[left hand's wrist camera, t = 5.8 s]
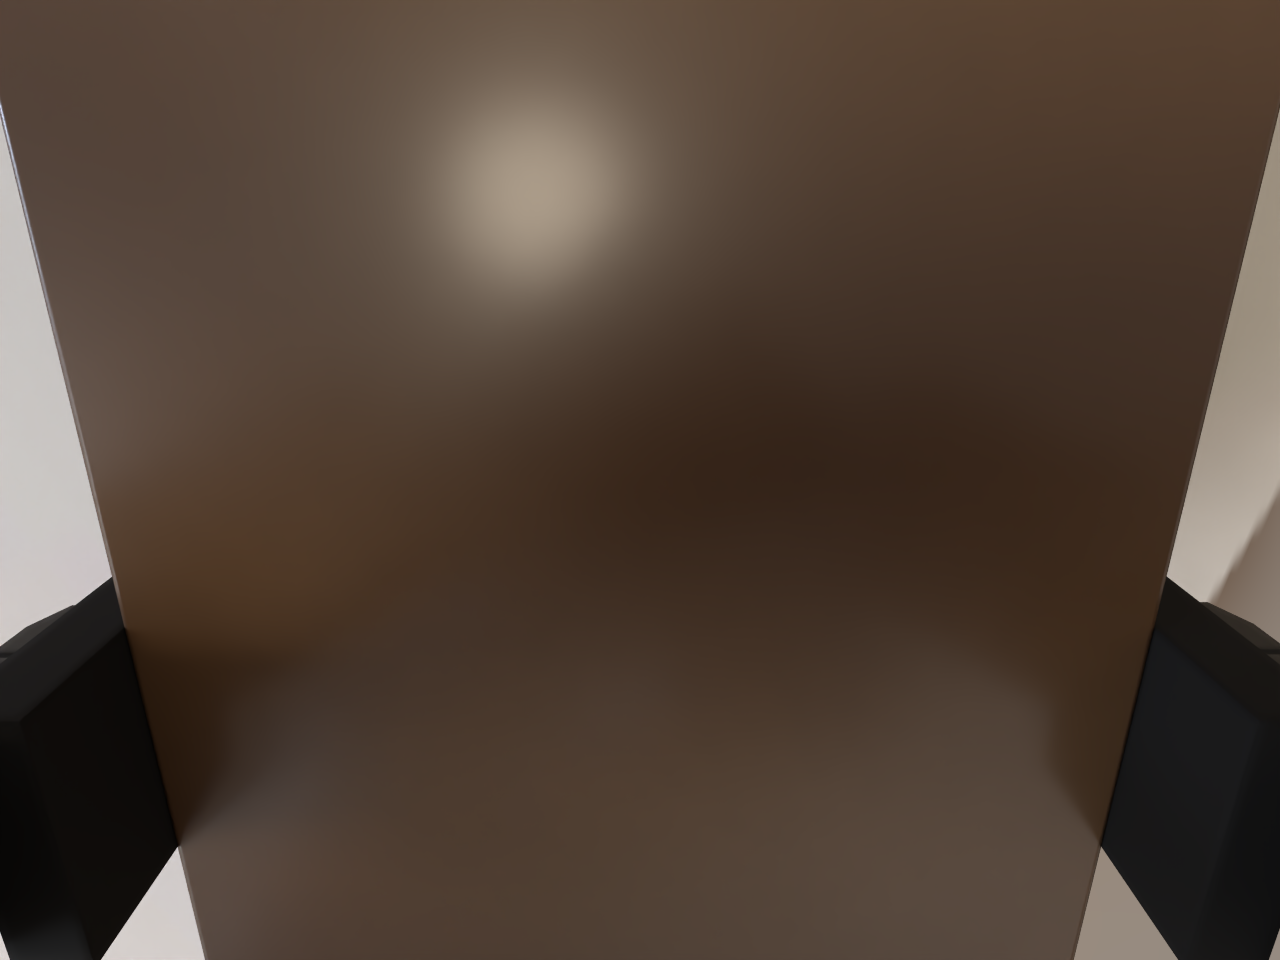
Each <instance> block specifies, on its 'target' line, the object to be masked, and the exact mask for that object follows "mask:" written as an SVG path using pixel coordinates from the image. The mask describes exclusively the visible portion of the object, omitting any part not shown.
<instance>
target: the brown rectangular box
mask: <svg viewBox="0 0 1280 960" xmlns="http://www.w3.org/2000/svg"><path fill="white" fill-rule="evenodd" d="M1279 109H1280V0H0V117H1V121H2V125H3V129H4V133H5V137H6V141H7V145H8V150H9V154H10V158H11V162H12V166H13V170H14V174H15V178H16V182H17V187H18V191H19V195H20V199H21V203H22V207H23V211H24V215H25V220H26V224H27V228H28V232H29V236H30V240H31V244H32V248H33V252H34V257H35V261H36V265H37V269H38V273H39V277H40V281H41V285H42V290H43V294H44V298H45V302H46V306H47V310H48V314H49V318H50V322H51V327H52V331H53V335H54V339H55V343H56V347H57V351H58V355H59V360H60V364H61V368H62V372H63V376H64V380H65V384H66V388H67V392H68V397H69V401H70V405H71V409H72V413H73V417H74V421H75V425H76V430H77V434H78V438H79V442H80V446H81V450H82V454H83V458H84V462H85V467H86V471H87V475H88V479H89V483H90V487H91V491H92V495H93V500H94V504H95V508H96V512H97V516H98V520H99V524H100V528H101V532H102V537H103V541H104V545H105V549H106V553H107V557H108V561H109V565H110V570H111V574H112V578H113V582H114V586H115V590H116V594H117V598H118V602H119V607H120V611H121V615H122V619H123V623H124V627H125V631H126V635H127V640H128V644H129V648H130V652H131V656H132V660H133V664H134V668H135V673H136V677H137V681H138V685H139V689H140V693H141V697H142V701H143V705H144V710H145V714H146V718H147V722H148V726H149V730H150V734H151V738H152V743H153V747H154V751H155V755H156V759H157V763H158V767H159V771H160V775H161V780H162V784H163V788H164V792H165V796H166V800H167V804H168V808H169V813H170V817H171V821H172V825H173V829H174V833H175V837H176V841H177V845H178V850H179V854H180V858H181V862H182V866H183V870H184V874H185V878H186V883H187V887H188V891H189V895H190V899H191V903H192V907H193V911H194V915H195V920H196V924H197V928H198V932H199V936H200V940H201V944H202V948H203V953H204V957H205V960H1074V956H1075V952H1076V948H1077V944H1078V940H1079V935H1080V931H1081V927H1082V923H1083V919H1084V915H1085V911H1086V906H1087V902H1088V898H1089V894H1090V890H1091V886H1092V882H1093V877H1094V873H1095V869H1096V865H1097V861H1098V857H1099V853H1100V848H1101V844H1102V840H1103V836H1104V832H1105V828H1106V824H1107V820H1108V816H1109V811H1110V807H1111V803H1112V799H1113V795H1114V791H1115V787H1116V782H1117V778H1118V774H1119V770H1120V766H1121V762H1122V758H1123V754H1124V749H1125V745H1126V741H1127V737H1128V733H1129V729H1130V725H1131V720H1132V716H1133V712H1134V708H1135V704H1136V700H1137V696H1138V692H1139V687H1140V683H1141V679H1142V675H1143V671H1144V667H1145V663H1146V658H1147V654H1148V650H1149V646H1150V642H1151V638H1152V634H1153V630H1154V625H1155V621H1156V617H1157V613H1158V609H1159V605H1160V601H1161V596H1162V592H1163V588H1164V584H1165V580H1166V576H1167V572H1168V568H1169V563H1170V559H1171V555H1172V551H1173V547H1174V543H1175V539H1176V534H1177V530H1178V526H1179V522H1180V518H1181V514H1182V510H1183V506H1184V501H1185V497H1186V493H1187V489H1188V485H1189V481H1190V477H1191V472H1192V468H1193V464H1194V460H1195V456H1196V452H1197V448H1198V444H1199V439H1200V435H1201V431H1202V427H1203V423H1204V419H1205V415H1206V410H1207V406H1208V402H1209V398H1210V394H1211V390H1212V386H1213V382H1214V377H1215V373H1216V369H1217V365H1218V361H1219V357H1220V353H1221V348H1222V344H1223V340H1224V336H1225V332H1226V328H1227V324H1228V320H1229V315H1230V311H1231V307H1232V303H1233V299H1234V295H1235V291H1236V286H1237V282H1238V278H1239V274H1240V270H1241V266H1242V262H1243V258H1244V253H1245V249H1246V245H1247V241H1248V237H1249V233H1250V229H1251V224H1252V220H1253V216H1254V212H1255V208H1256V204H1257V200H1258V196H1259V191H1260V187H1261V183H1262V179H1263V175H1264V171H1265V167H1266V163H1267V158H1268V154H1269V150H1270V146H1271V142H1272V138H1273V134H1274V129H1275V125H1276V121H1277V117H1278V113H1279Z"/></svg>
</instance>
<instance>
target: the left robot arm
mask: <svg viewBox="0 0 1280 960" xmlns="http://www.w3.org/2000/svg"><path fill="white" fill-rule="evenodd" d="M177 847H178V845H177V841H176V837H175V833H174V829H173V825H172V821H171V817H170V813H169V808H168V804H167V800H166V796H165V792H164V788H163V784H162V780H161V775H160V771H159V767H158V763H157V759H156V755H155V751H154V747H153V743H152V738H151V734H150V730H149V726H148V722H147V718H146V714H145V710H144V705H143V701H142V697H141V693H140V689H139V685H138V681H137V677H136V673H135V668H134V664H133V660H132V656H131V652H130V648H129V644H128V640H127V635H126V631H125V627H124V623H123V619H122V615H121V611H120V607H119V602H118V598H117V594H116V590H115V586H114V582H113V578H112V577H111V578H110V579H109V580H107V581H106V582H105V583H103V584H102V585H101V586H100V587H98V588H97V589H96V590H94V591H93V592H92V593H91V594H89V595H88V596H87V597H85V598H84V599H83V600H82V601H80V602H79V603H78V604H76V605H72V606H70V607H68V608H66V609H64V610H61V611H59V612H57V613H55V614H53V615H51V616H49V617H47V618H44V619H42V620H40V621H38V622H36V623H34V624H32V625H30V626H28V627H26V628H24V629H23V630H22V631H20V632H19V633H18V634H16V635H15V636H14V637H12V638H11V639H10V640H8V641H7V642H6V643H4V644H3V645H2V646H0V933H1V935H2V938H3V941H4V944H5V947H6V950H7V952H8V955H9V958H10V960H101V959H102V957H103V956H104V954H105V953H106V951H107V950H108V948H109V947H110V945H111V944H112V943H113V941H114V940H115V938H116V937H117V935H118V934H119V932H120V931H121V929H122V928H123V926H124V925H125V923H126V922H127V920H128V919H129V917H130V916H131V915H132V913H133V912H134V910H135V909H136V907H137V906H138V904H139V903H140V901H141V900H142V898H143V897H144V895H145V894H146V892H147V891H148V890H149V888H150V887H151V885H152V884H153V882H154V881H155V879H156V878H157V876H158V875H159V873H160V872H161V870H162V869H163V867H164V866H165V865H166V863H167V862H168V860H169V859H170V857H171V856H172V854H173V853H174V851H175V850H176V848H177ZM1101 847H1102V848H1103V850H1104V851H1105V853H1106V854H1107V856H1108V857H1109V859H1110V860H1111V861H1112V863H1113V864H1114V866H1115V867H1116V869H1117V870H1118V872H1119V873H1120V875H1121V876H1122V878H1123V879H1124V881H1125V882H1126V884H1127V885H1128V886H1129V888H1130V889H1131V891H1132V892H1133V894H1134V895H1135V897H1136V898H1137V900H1138V901H1139V903H1140V904H1141V906H1142V907H1143V909H1144V910H1145V912H1146V913H1147V914H1148V916H1149V917H1150V919H1151V920H1152V922H1153V923H1154V925H1155V926H1156V928H1157V929H1158V930H1159V932H1160V934H1161V935H1162V937H1163V938H1164V939H1165V941H1166V942H1167V944H1168V945H1169V947H1170V948H1171V950H1172V951H1173V953H1174V954H1175V956H1176V957H1177V959H1178V960H1269V957H1270V955H1271V952H1272V949H1273V946H1274V943H1275V940H1276V938H1277V935H1278V932H1279V929H1280V643H1279V642H1277V641H1276V640H1275V639H1273V638H1272V637H1270V636H1269V635H1268V634H1266V633H1265V632H1264V631H1262V630H1261V629H1260V628H1258V627H1257V626H1256V625H1254V624H1253V623H1251V622H1248V621H1246V620H1244V619H1242V618H1240V617H1238V616H1236V615H1233V614H1231V613H1229V612H1227V611H1225V610H1223V609H1221V608H1219V607H1217V606H1214V605H1212V604H1210V603H1208V602H1199V601H1197V600H1196V599H1195V598H1194V597H1192V596H1191V595H1190V594H1188V593H1187V592H1186V591H1185V590H1183V589H1182V588H1181V587H1179V586H1178V585H1177V584H1176V583H1174V582H1173V581H1172V580H1170V579H1169V578H1168V577H1167V576H1166V580H1165V584H1164V588H1163V592H1162V596H1161V601H1160V605H1159V609H1158V613H1157V617H1156V621H1155V625H1154V630H1153V634H1152V638H1151V642H1150V646H1149V650H1148V654H1147V658H1146V663H1145V667H1144V671H1143V675H1142V679H1141V683H1140V687H1139V692H1138V696H1137V700H1136V704H1135V708H1134V712H1133V716H1132V720H1131V725H1130V729H1129V733H1128V737H1127V741H1126V745H1125V749H1124V754H1123V758H1122V762H1121V766H1120V770H1119V774H1118V778H1117V782H1116V787H1115V791H1114V795H1113V799H1112V803H1111V807H1110V811H1109V816H1108V820H1107V824H1106V828H1105V832H1104V836H1103V840H1102V844H1101Z"/></svg>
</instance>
